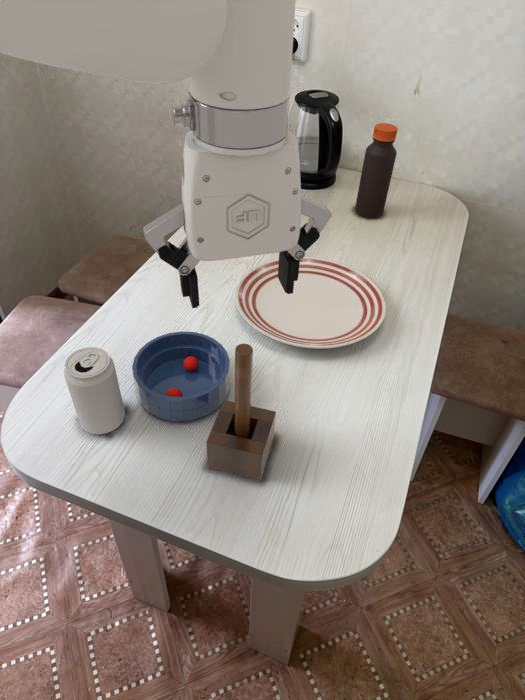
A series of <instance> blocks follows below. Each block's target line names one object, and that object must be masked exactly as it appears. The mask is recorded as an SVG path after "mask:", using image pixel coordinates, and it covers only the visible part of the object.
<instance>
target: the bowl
mask: <svg viewBox="0 0 525 700" xmlns="http://www.w3.org/2000/svg"><path fill="white" fill-rule="evenodd" d="M189 356H193V357H195V358H197V360H198V362H199V366H198V368H197V369H196V370H195V371H187V370H186V369H185V368H184V365H183V363H184V360H185V359H186V358H187V357H189ZM229 357H230V356H229V354H228V351H227V350H226V349H225V347H224V346H223V345H222V343H220V341H218V340H216V339H215V338H213V337H212V336H209V335H206V334H204V333H201V332H195V331H175V332H174V331H173V332H167V333H164V334H162V335H159V336H157V337H154V338H153V339H151V340H149V341H148V342H146V343H145V344H144V345H143V346H142V347H141V348H140V349H139V350H138V351H137V353H136V355H135V356H134V358H133V363H132V366H131V368H132V369H131V370H132V376H133V381H134V386H135V392H136V397H137V399H138V402H139V403H140V404H141V407H143V408H144V409H145V410H146V411H147V412H148V413H150V414H151V415H154V416H155V417H157V418H159V419H162V420H167V421H172V422H175V421H176V422H188V421H193V420H198V419H200V418H203V417H205V416H207V415H210V414H211V413H213V412H214V411H216V410H217V409H218V408H219V407H221V406H222V403H223V401H224V400H227V397H228V394H229V392H230V385H231V382H230V380H231V374H230V372H231V371H230V370H231V364H230V363H231V362H230V358H229ZM172 388H178V389H179V390H181V392H182V394H183V397H169V396H166V394H167V392H168V391H169V390H170V389H172Z"/></svg>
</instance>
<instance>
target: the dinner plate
mask: <svg viewBox="0 0 525 700" xmlns="http://www.w3.org/2000/svg"><path fill="white" fill-rule="evenodd" d="M278 265H279V257H277V258H274V259H270V260H267V261H264V262H261V263H259V264H257V265H255V266H254V267H252V268H251V269H249V270H248V271H247V272H246V273H244V274H243V276H242V277H241V278H240V279H239V280H238V282H237V285H236V287H235V291H234V300H235V306H236V308H237V310H238V312H239V314H240V316H241V317H242V318H243V319H244V320H245V322H247V324H249V325H250V326H251V328H253V329H254V330H256V331H258V332H259V333H260V334H262V335H264V336H266V337H268V338H269V339H272V340H274V341H277V342H279V343H283V344H285V345H288V346H293V347H298V348H303V349H317V350H319V349H320V350H322V349H334V348H341V347H345V346H349V345H352V344H355V343H358V342H361V341H362V340H364V339H366V338H368V337H370V336H371V335H372V334H373V333H375V332H376V331H377V330H378V329H379V328H380V326H381V325H382V323H383V321H384V319H385V316H386V312H387V311H386V310H387V309H386V308H387V307H386V306H387V305H386V302H385V297H384V295H383V293H382V291H381V289H379V287H378V286H377V285H376V283H374V282H373V281H372V279H370V278H369V277H368V276H366V275H365V274H363V273H362V272H361V271H359V270H356V269H355V268H353V267H351V266H348V265H346V264H344V263H341V262H338V261H335V260H331V259H328V258H327V259H326V258H321V257H316V256H315V257H314V256H305V257H304V258H303V259H301V260H300V264H299V274H298V280H297V281H294V289H293V293H292V294H287V293H285V291H284V289H283V287H282V285H281V283H280V281H279V279H278Z"/></svg>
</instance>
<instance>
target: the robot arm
mask: <svg viewBox="0 0 525 700" xmlns="http://www.w3.org/2000/svg"><path fill="white" fill-rule="evenodd" d="M296 2H297V0H0V54H2V55H5V56H9V57H12V58H16V59H20V60H24V61H28V62H32V63H36V64H40V65H45V66H50V67H53V68H58V69H63V70H69V71H73V72H79V73H85V74H90V75H94V76H99V77H103V78H109V79H115V80H120V81H125V82H126V81H127V82H132V83H137V84H143V85H167V84H174V83H178V82H180V81H184V80H186V79H189V91H188V99H186V103H182V104H181V106H172V107H171V110H172V111H171V112H172V120H173V125H174V126H175V127H179V126H183V127H184V128H189V130H190V131H188V132H187V133H186V134H185V138H184V145H183V152H182V167H181V203H180V204H178V205H177V206H175V207H173V208H172V209H169V210H168V211H167V212H165V213H163V214H162V215H160V216H159V217H157V218H155V219H153V220H152V221H150V222H149V223H147V224H145V225H144V226H143V228H142V232H143V236H144V239H145V241H146V242H147V243H148V244H149V246H150V247H151V248H152V250H153V251H154V252H155V253H156V254H157V255H158V257H159V259H160V260H161V261H163V262H164V263H166V264H168V265H169V266H171V267H172V268H174V269H175V270H177V272H178V274H179V283H180V290H181V295H182V297H183V298H187V297H189V301H190V305H191V308H192V309H198V308H199V307H200V293H199V279H198V274H197V270H196V267H197V265H198V264H199V263H200V262H214V261H215V262H216V261H224V260H232V259H240V258H247V257H256V256H263V255H270V254H276V253H278V258H279V265H278V279H279V281H280V283H281V285H282V287H283V289H284V291H285V293H287V294H292V293H293V289H294V281H297V280H298V274H299V264H300V260H301V259H303V258H304V257H306V251H307V250H309V248H311V247H312V246H313V245H314V244H315V243H316V242H317V241H318V240H319V239H320V237H321V234H320V233H321V232H322V231H323V230H324V229H325V227H326V225H327V224H328V223H329V221H330V219H331V217H332V212H331V210H330V209H329V208H328V206H327V205H325V204H323V203H320V202H318V201H316V200H313V199H311V198H308V197H306V196H303V195H302V182H301V162H300V150H299V144H298V138H297V136H296V135H295V134H294V133H293V132H292V131H291V130H290V129H288V125H289V112H290V111H289V110H290V96H291V95H290V94H291V79H292V67H293V66H292V65H293V64H292V63H293V50H294V49H293V48H294V34H295V21H296V20H295V17H296ZM302 215H303V216H306V217H308V222H306V223H304V224H303V225H302V224H301V221H302ZM301 225H302V226H301ZM181 227H183V230H184V233H185V238H183V240H181V243H179V245H178V246H176V245H174V244H173V243H171V242H170V241H169V240H167V239H166V238H165V237H167V236H168V235H169V234H172V233H173V232H174V231H177V230H179V229H180V228H181Z"/></svg>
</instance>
